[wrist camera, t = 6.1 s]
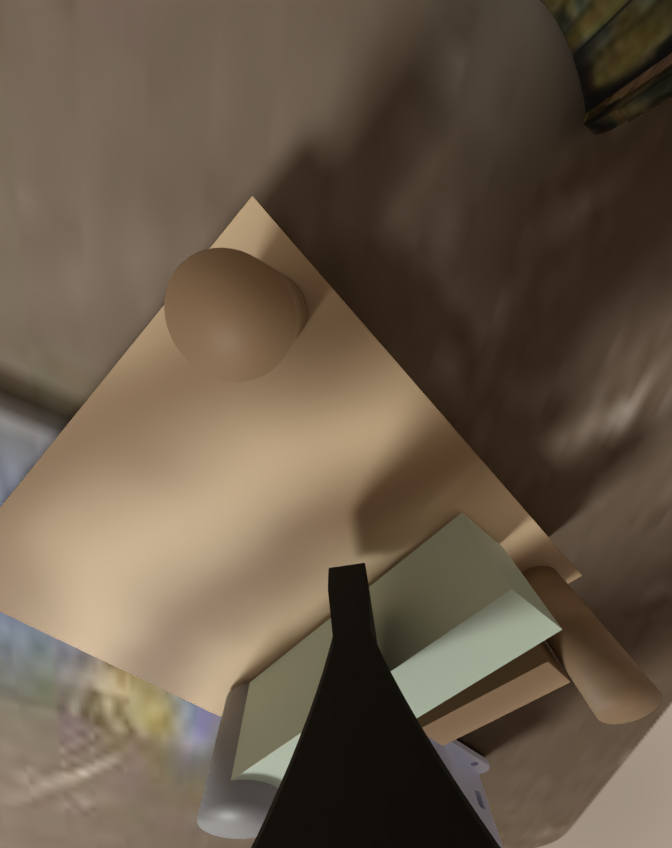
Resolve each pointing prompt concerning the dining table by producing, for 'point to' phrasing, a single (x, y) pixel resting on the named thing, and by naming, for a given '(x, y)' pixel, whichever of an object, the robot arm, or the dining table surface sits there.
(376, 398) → the stool seat
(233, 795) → the leg
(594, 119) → the book
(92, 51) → the dining table surface
